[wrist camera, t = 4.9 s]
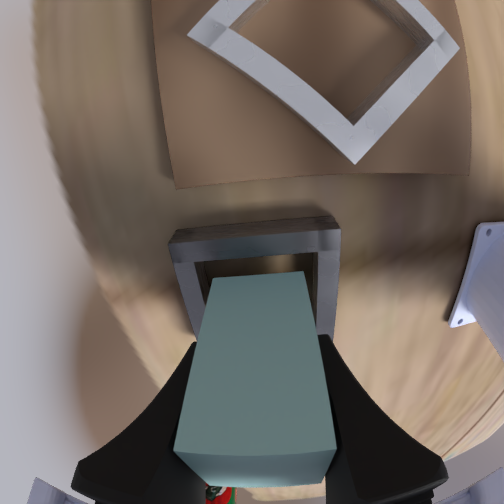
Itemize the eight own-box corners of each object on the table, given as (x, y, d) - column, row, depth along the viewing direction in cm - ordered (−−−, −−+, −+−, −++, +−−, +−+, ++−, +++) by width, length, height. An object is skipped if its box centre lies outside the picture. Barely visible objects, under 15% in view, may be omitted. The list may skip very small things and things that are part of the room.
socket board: (433, -31, 6) (456, -44, 3) (458, 170, 11) (487, 184, 9) (156, -40, 7) (137, -61, 4) (182, 183, 12) (165, 200, 10)
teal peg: (303, 271, 12) (336, 448, 5) (303, 335, 14) (321, 483, 7) (213, 278, 13) (173, 450, 6) (227, 340, 14) (209, 485, 7)
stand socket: (332, 216, 13) (341, 228, 11) (327, 331, 16) (331, 349, 15) (176, 230, 13) (167, 244, 12) (206, 340, 17) (202, 357, 16)
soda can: (186, 442, 26) (172, 532, 15) (225, 439, 25) (216, 538, 14) (210, 456, 28) (202, 537, 17) (246, 453, 27) (242, 540, 16)
